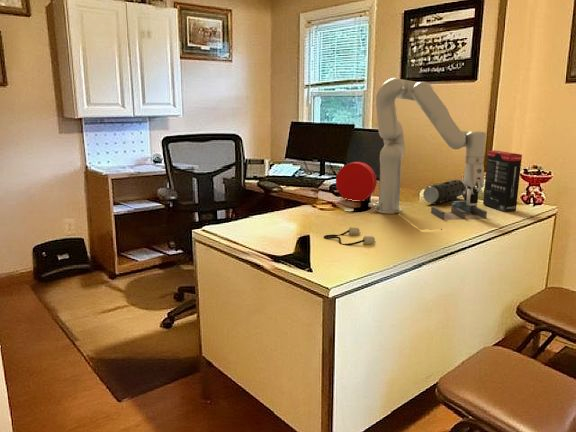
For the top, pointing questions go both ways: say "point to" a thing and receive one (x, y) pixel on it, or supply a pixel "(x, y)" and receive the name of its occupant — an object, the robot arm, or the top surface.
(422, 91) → the robot arm
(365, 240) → the cable
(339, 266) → the top surface
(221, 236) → the top surface
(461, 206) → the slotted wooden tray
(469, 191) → the cream plastic cylinder
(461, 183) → the muzzle brake
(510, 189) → the graphics card box
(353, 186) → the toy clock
